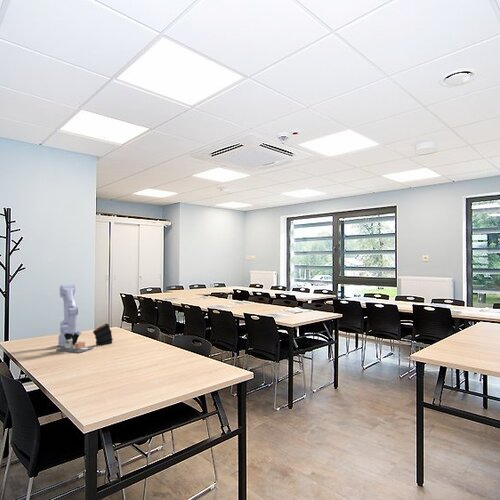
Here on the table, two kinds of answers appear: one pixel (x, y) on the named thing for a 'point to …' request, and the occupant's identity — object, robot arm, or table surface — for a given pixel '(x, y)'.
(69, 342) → the block
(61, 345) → the din rail
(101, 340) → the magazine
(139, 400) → the table surface
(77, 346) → the block with grey knob
